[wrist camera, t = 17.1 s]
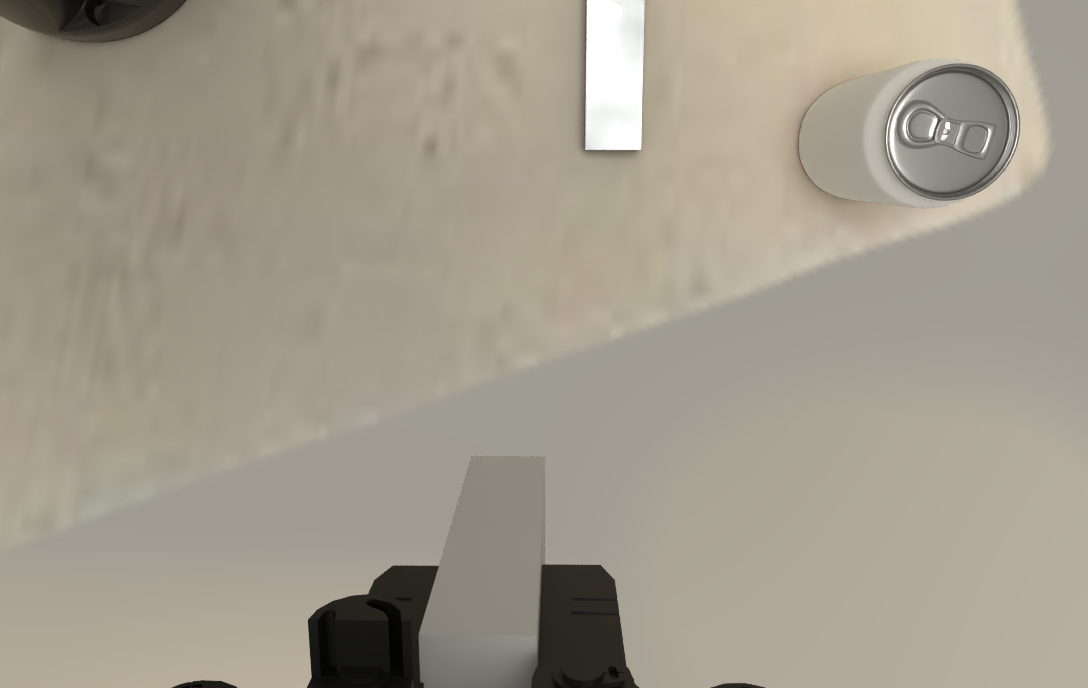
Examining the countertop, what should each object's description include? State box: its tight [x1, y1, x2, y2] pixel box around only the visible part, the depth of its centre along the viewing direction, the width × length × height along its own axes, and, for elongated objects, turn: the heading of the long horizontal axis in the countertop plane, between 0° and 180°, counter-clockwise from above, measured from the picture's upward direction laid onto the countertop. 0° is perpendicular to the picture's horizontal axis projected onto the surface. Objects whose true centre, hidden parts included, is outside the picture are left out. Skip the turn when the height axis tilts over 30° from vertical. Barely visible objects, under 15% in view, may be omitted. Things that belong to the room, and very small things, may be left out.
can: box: [799, 58, 1020, 208], centre depth 41 cm, size 6×6×12 cm
